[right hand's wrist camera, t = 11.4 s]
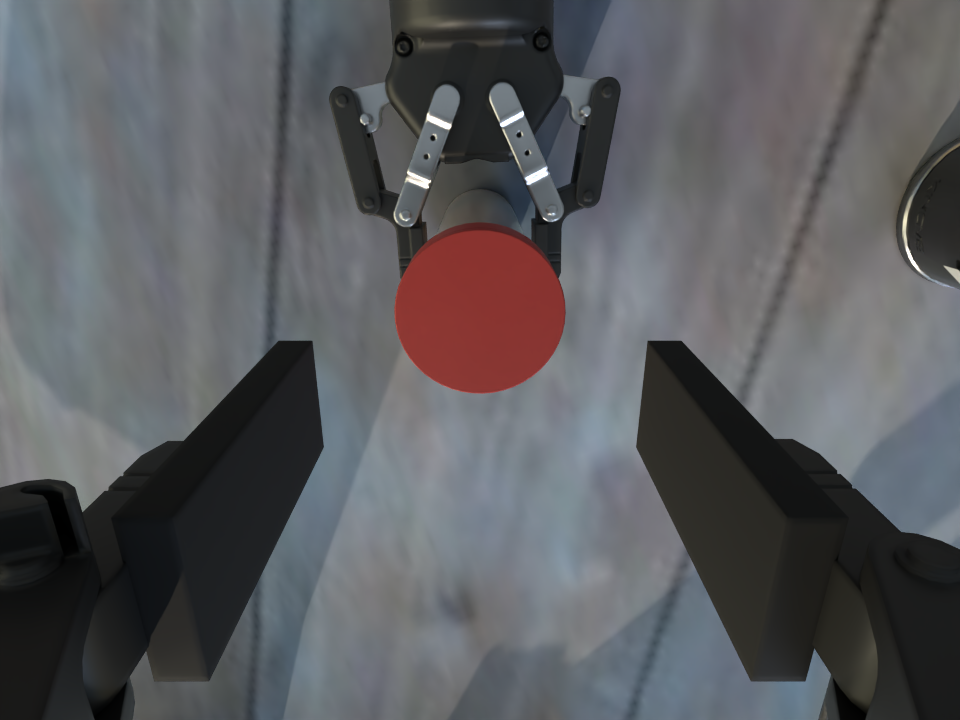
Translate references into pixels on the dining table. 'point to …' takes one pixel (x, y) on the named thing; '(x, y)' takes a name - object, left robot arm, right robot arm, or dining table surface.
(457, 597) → the dining table surface
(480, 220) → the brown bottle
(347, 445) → the dining table surface
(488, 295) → the lid
